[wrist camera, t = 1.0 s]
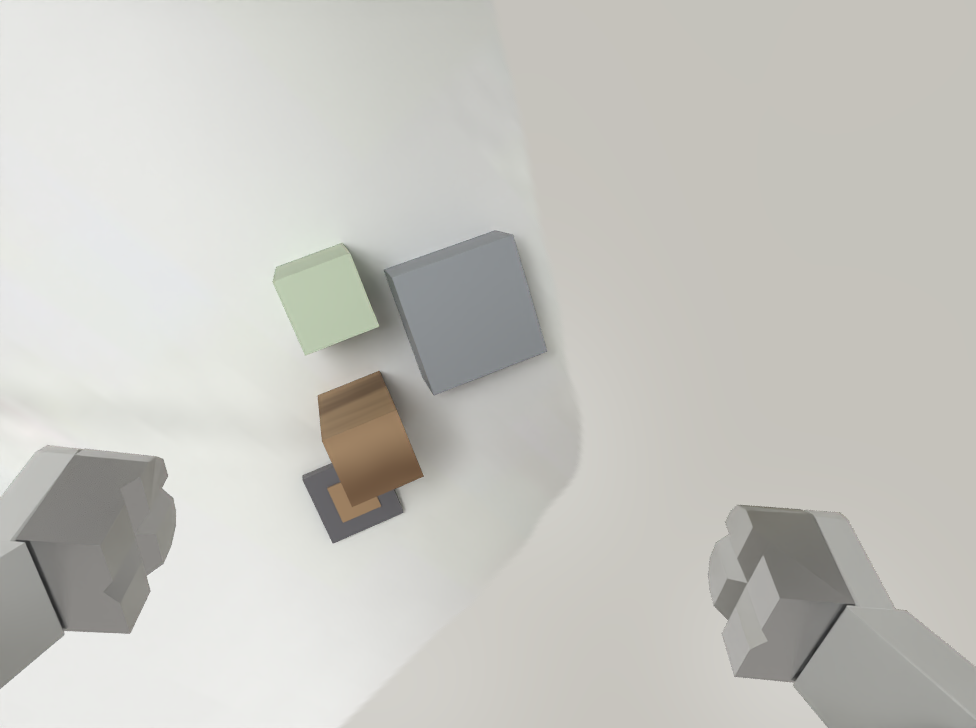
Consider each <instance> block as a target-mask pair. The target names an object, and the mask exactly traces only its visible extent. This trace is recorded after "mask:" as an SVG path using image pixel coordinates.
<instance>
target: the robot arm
mask: <svg viewBox="0 0 976 728" xmlns="http://www.w3.org/2000/svg"><path fill="white" fill-rule="evenodd" d="M167 477H168V474H167V470H166V467H165V463H164V460H163V459H162V458H159V457H156V456H148V455H139V454H130V453H120V452H111V451H102V450H93V449H78V448H68V447H59V446H50V445H47V446H45V447H43V448H42V449H40V450H38V451H37V452H35V453H34V455H33V456H32V457H31V458H30V460H29V461H28V462H27V464H26V465H25V466H24V467H23V469H22V470H21V471H20V473H19V474H18V475H17V476H16V478H15V479H14V480H13V482H12V483H11V484H10V485H9V487H8V488H7V489H6V491H5V492H4V493H3V494H2V496H1V497H0V689H1V688H2V687H3V686H4V685H6V684H7V683H8V682H9V681H10V680H11V679H13V678H14V677H15V676H16V675H17V674H19V673H20V672H21V671H22V670H23V669H24V668H26V667H27V666H28V665H29V664H30V663H32V662H33V661H34V660H35V659H36V658H37V657H39V656H40V655H41V654H42V653H43V652H45V651H46V650H47V649H48V648H49V647H50V646H52V645H53V644H54V643H55V642H56V641H58V640H59V639H60V638H61V637H62V636H64V631H80V632H103V633H125V634H130V633H131V631H132V629H133V627H134V625H135V622H136V620H137V618H138V616H139V614H140V612H141V610H142V608H143V606H144V604H145V601H146V599H147V597H148V595H149V593H150V588H149V584H148V580H147V577H146V576H147V575H148V574H150V573H151V572H152V571H154V570H155V569H157V568H158V567H159V566H161V565H162V564H163V563H164V561H165V559H166V557H167V554H168V552H169V550H170V548H171V545H172V540H173V536H174V531H175V527H176V509H175V504H174V500H173V498H172V497H171V496H170V495H169V494H168V493H167V492H166V491H164V490H163V489H162V487H163V485H164V483H165V481H166V479H167ZM725 523H726V526H727V529H728V532H729V534H728V535H727V536H725V537H724V538H722V539H721V540H719V541H717V542H716V544H715V546H714V549H713V551H712V554H711V556H710V561H709V571H708V579H709V588H710V593H711V597H712V600H713V604H714V606H715V607H716V608H717V609H718V610H719V611H720V612H721V613H722V614H723V615H724V617H725V618H726V619H727V620H728V622H727V624H726V626H725V628H724V630H723V632H722V636H723V639H724V643H725V646H726V650H727V653H728V656H729V660H730V663H731V667H732V670H733V674H734V677H743V678H753V679H764V680H774V681H784V682H794V684H793V686H794V688H795V689H796V690H797V691H798V692H799V694H800V695H801V696H802V697H803V698H804V700H805V701H806V702H807V703H808V704H809V706H810V707H811V708H812V709H813V710H814V712H815V713H816V714H817V715H818V716H819V718H820V719H821V720H822V721H823V722H824V724H825V725H826V726H827V727H828V728H976V666H974V665H973V664H972V663H971V662H969V661H968V660H967V659H966V658H965V657H963V656H962V655H961V654H960V653H958V652H957V651H956V650H955V649H953V648H952V647H951V646H950V645H949V644H947V643H946V642H945V641H944V640H942V639H941V638H940V637H939V636H937V635H936V634H935V633H934V632H933V631H931V630H930V629H929V628H928V627H926V626H925V625H924V624H923V623H921V622H920V621H919V620H918V619H917V618H915V617H914V616H913V615H912V614H910V613H909V612H908V611H907V610H899V609H896V608H895V607H894V605H893V603H892V601H891V599H890V597H889V595H888V593H887V592H886V590H885V588H884V586H883V584H882V582H881V581H880V578H879V576H878V575H877V573H876V571H875V569H874V567H873V565H872V563H871V561H870V560H869V558H868V556H867V554H866V552H865V550H864V548H863V546H862V545H861V543H860V541H859V539H858V537H857V535H856V533H855V531H854V530H853V528H852V526H851V524H850V522H849V520H848V519H847V518H846V517H845V516H844V515H843V514H841V513H840V512H839V513H838V512H827V511H813V510H804V511H803V510H800V509H789V508H775V507H760V506H747V505H737V506H735V507H734V508H733V509H732V510H731V512H730V513H729V515H728V517H727V520H726V522H725Z"/></svg>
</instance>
